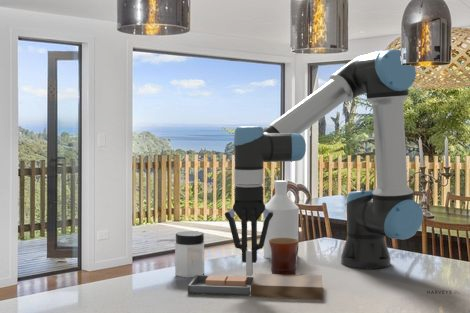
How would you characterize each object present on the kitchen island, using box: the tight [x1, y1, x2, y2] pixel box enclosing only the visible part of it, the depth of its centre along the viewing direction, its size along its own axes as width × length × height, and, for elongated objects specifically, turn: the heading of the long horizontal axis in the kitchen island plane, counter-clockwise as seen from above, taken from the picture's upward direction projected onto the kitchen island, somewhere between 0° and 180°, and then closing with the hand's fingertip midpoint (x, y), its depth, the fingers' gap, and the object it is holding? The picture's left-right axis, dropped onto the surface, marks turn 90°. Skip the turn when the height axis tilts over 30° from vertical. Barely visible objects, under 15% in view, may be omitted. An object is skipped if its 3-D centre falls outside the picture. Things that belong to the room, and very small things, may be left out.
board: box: [250, 273, 324, 300], centre depth 156 cm, size 18×12×3 cm, turn 83°
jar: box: [174, 230, 205, 279], centre depth 175 cm, size 9×8×12 cm
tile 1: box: [205, 274, 228, 286], centre depth 159 cm, size 5×5×2 cm
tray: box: [187, 274, 254, 297], centre depth 159 cm, size 16×11×2 cm
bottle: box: [262, 179, 300, 260], centre depth 199 cm, size 12×12×25 cm
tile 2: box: [226, 275, 248, 287], centre depth 158 cm, size 5×5×2 cm
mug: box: [269, 238, 300, 275], centre depth 174 cm, size 12×9×10 cm
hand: (249, 274), depth 158 cm, fingers closed
